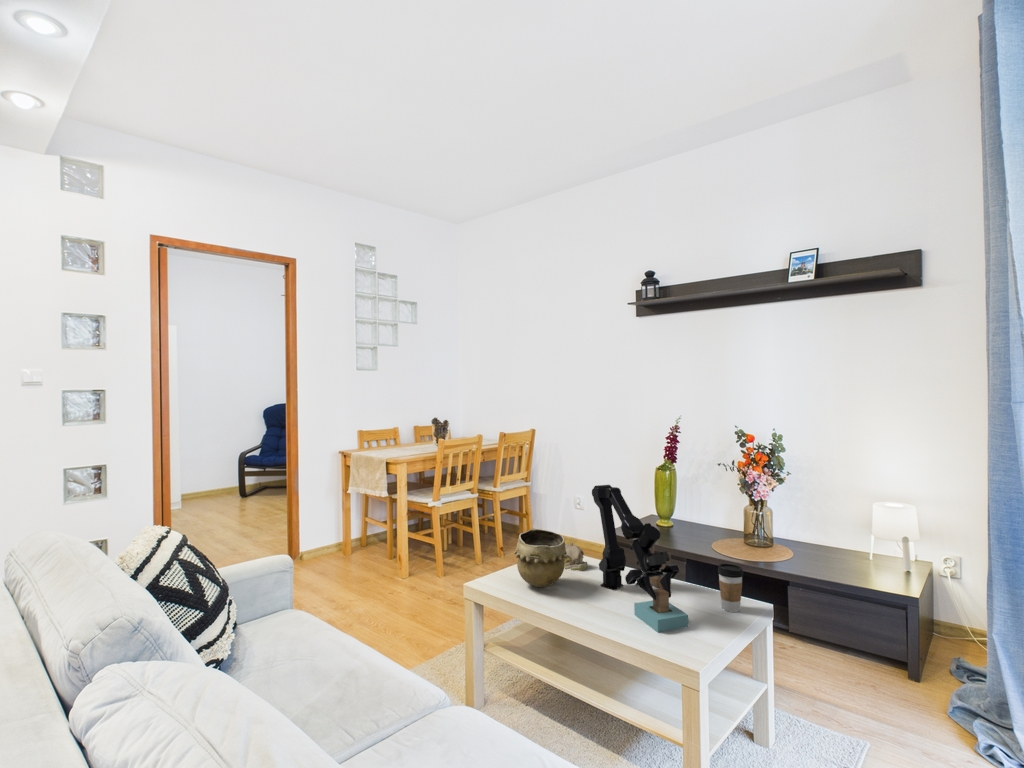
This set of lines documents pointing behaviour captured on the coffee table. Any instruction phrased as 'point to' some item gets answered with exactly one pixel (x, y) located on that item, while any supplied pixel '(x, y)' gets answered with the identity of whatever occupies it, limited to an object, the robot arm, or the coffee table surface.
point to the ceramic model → (574, 558)
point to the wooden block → (656, 580)
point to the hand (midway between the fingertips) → (662, 598)
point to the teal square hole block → (661, 617)
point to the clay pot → (540, 557)
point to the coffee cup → (730, 586)
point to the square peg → (661, 601)
